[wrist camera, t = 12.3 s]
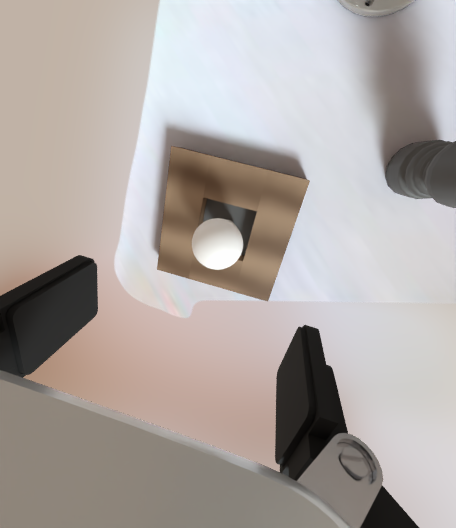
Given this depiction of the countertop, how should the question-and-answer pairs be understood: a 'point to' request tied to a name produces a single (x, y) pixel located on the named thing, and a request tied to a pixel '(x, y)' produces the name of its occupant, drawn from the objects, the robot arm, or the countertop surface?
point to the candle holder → (425, 171)
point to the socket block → (228, 218)
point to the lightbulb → (217, 243)
